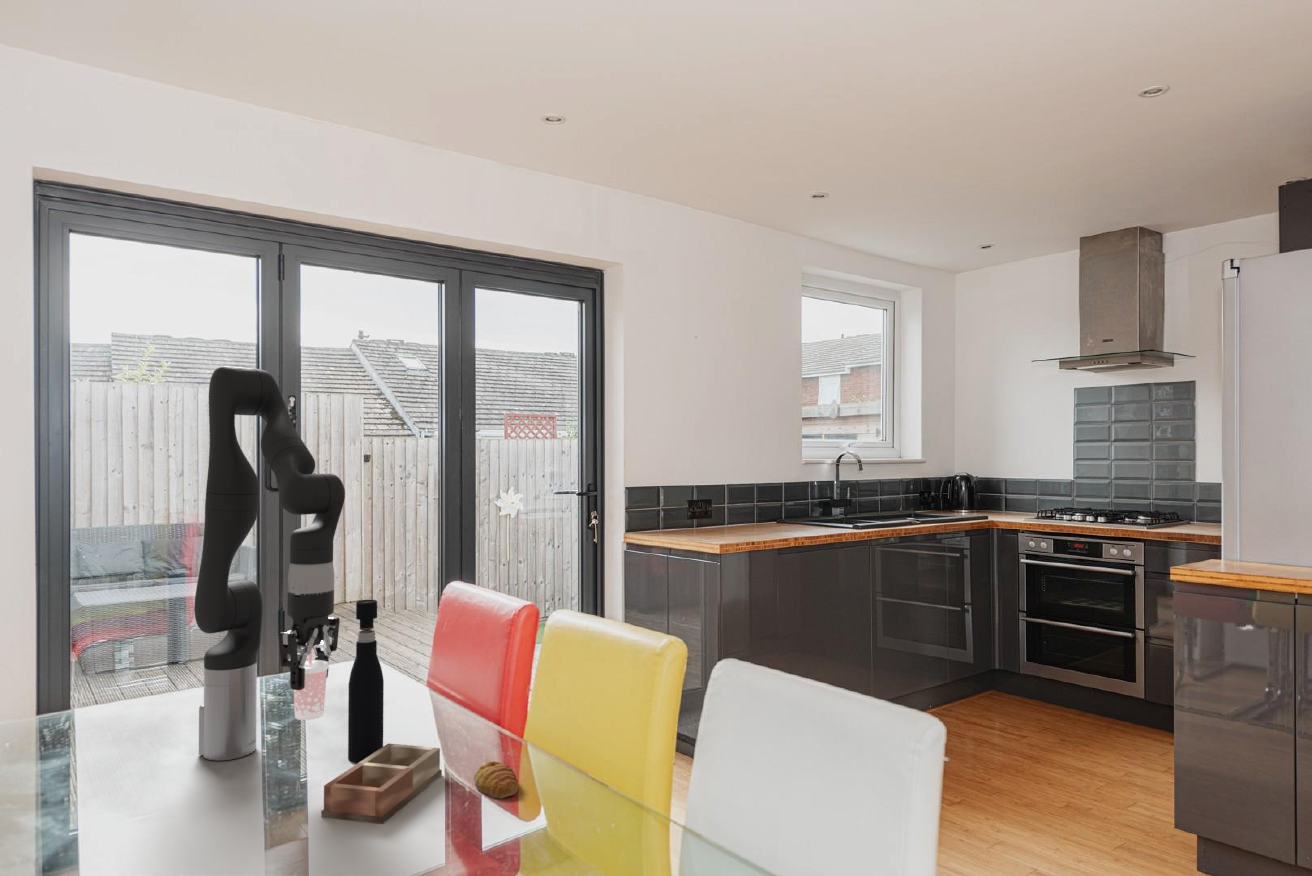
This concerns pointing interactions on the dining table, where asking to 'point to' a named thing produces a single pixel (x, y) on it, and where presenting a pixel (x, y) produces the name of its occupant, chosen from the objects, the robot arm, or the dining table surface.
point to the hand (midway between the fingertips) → (309, 683)
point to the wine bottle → (365, 689)
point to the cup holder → (381, 783)
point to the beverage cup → (311, 690)
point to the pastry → (496, 780)
